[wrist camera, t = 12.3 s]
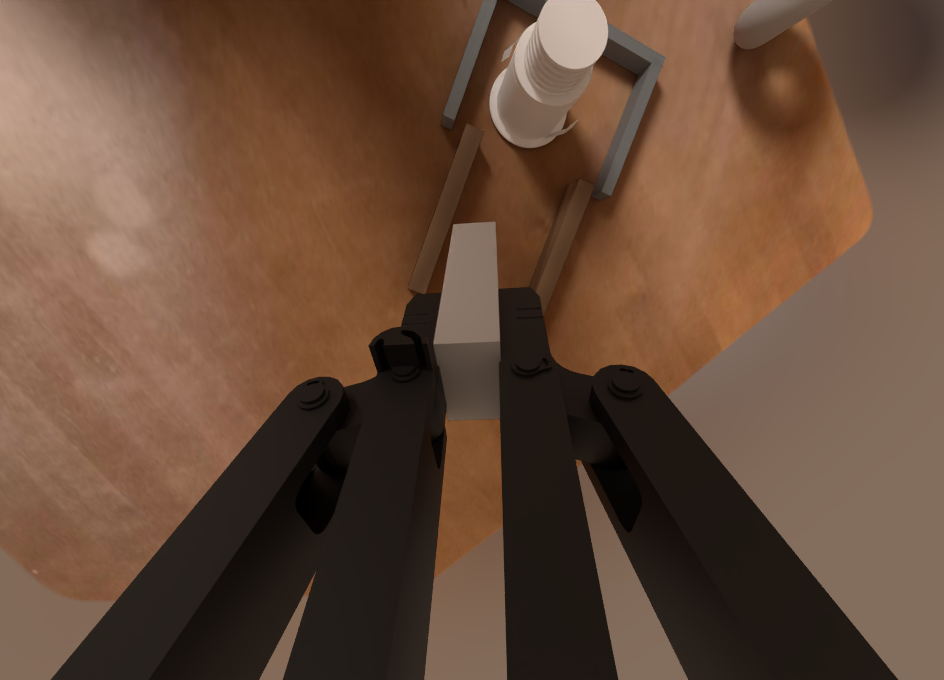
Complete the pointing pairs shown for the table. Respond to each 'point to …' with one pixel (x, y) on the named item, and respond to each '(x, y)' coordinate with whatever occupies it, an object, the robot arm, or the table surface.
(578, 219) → the slot
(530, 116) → the downlight
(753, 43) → the donut
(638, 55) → the open frame
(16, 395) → the table surface
